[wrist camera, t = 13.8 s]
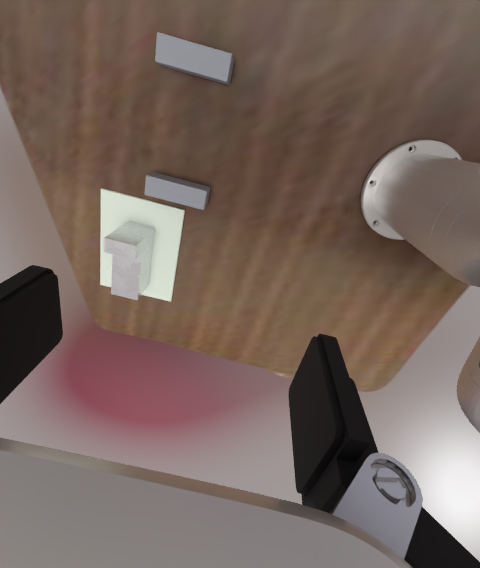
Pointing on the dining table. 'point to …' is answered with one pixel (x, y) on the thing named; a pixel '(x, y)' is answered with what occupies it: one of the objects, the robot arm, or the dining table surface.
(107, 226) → the mat
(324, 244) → the dining table surface
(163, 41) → the vise jaws
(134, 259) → the white pedestal stand
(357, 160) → the dining table surface
